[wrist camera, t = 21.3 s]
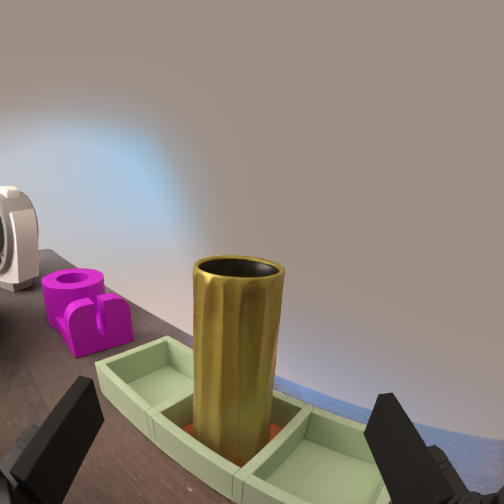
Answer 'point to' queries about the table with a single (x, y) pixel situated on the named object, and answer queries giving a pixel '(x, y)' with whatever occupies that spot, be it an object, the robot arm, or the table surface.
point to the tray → (268, 459)
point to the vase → (235, 352)
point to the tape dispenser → (86, 311)
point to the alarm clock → (17, 240)
